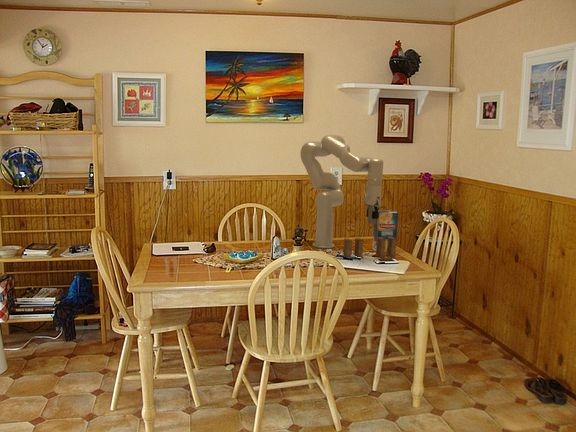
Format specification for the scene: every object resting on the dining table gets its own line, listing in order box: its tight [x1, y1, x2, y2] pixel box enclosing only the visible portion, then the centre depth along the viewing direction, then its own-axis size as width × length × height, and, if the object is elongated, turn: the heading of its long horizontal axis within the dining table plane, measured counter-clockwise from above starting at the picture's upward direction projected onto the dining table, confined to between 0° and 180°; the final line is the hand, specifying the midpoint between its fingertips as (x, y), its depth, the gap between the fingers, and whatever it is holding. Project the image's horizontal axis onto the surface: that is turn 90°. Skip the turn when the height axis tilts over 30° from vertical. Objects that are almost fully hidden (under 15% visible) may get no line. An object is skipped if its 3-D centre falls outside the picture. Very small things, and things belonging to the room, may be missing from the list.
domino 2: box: [353, 237, 364, 258], centre depth 288 cm, size 5×2×10 cm, turn 20°
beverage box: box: [371, 209, 399, 253], centre depth 306 cm, size 7×11×22 cm, turn 103°
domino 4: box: [375, 237, 386, 259], centre depth 292 cm, size 5×2×10 cm, turn 20°
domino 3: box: [367, 204, 377, 225], centre depth 287 cm, size 5×2×10 cm, turn 20°
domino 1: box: [342, 238, 353, 258], centre depth 285 cm, size 5×2×10 cm, turn 20°
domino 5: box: [386, 237, 397, 258], centre depth 294 cm, size 5×2×10 cm, turn 20°
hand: (372, 217), depth 287 cm, fingers closed on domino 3, 4 cm apart
